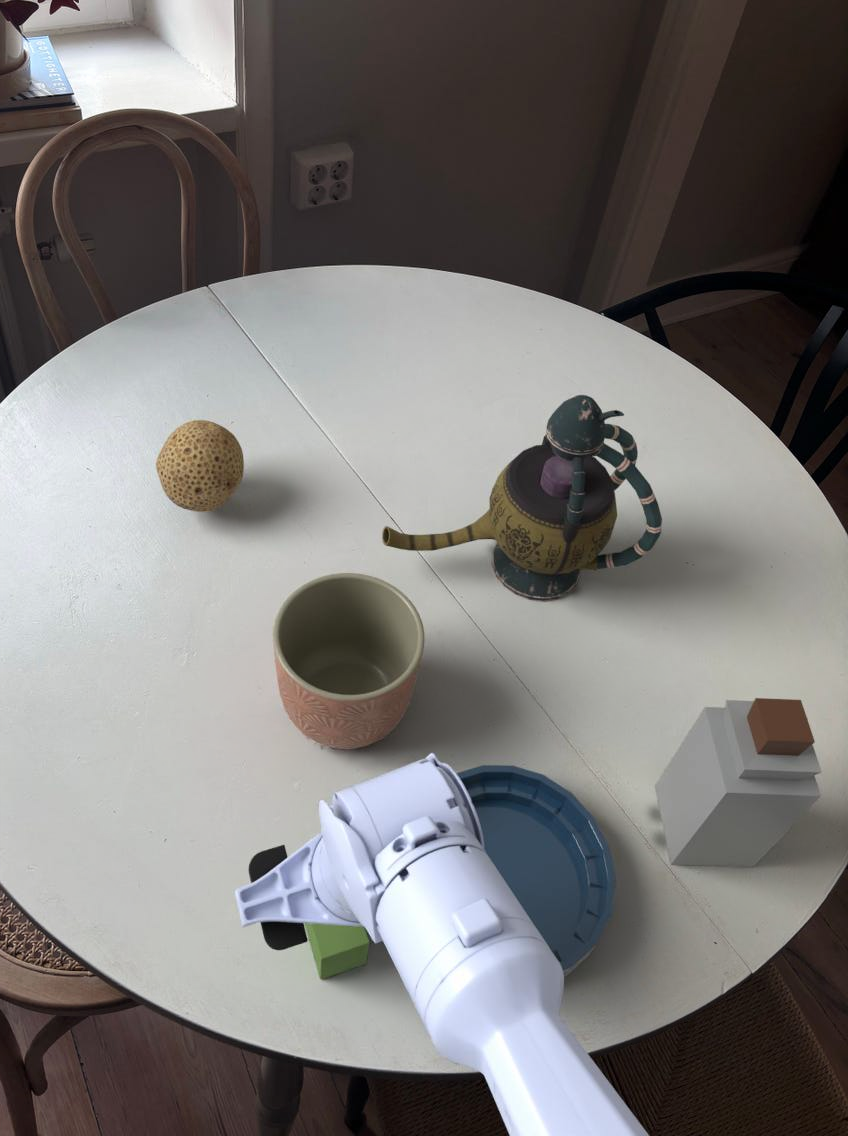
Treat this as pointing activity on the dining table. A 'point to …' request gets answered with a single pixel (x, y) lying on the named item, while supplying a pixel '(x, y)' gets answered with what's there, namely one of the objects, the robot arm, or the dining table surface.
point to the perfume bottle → (738, 782)
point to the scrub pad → (337, 947)
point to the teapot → (556, 506)
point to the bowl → (546, 856)
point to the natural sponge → (200, 466)
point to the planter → (347, 658)
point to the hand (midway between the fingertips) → (340, 884)
